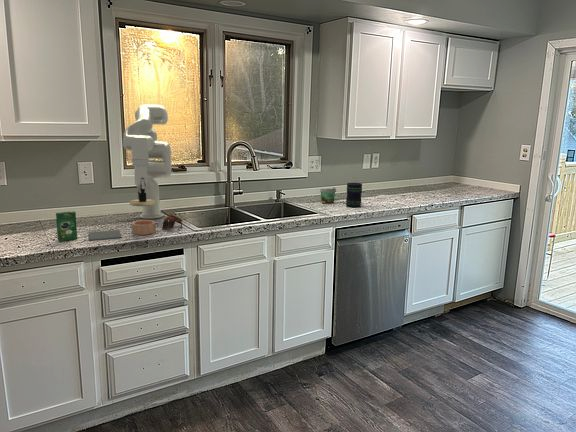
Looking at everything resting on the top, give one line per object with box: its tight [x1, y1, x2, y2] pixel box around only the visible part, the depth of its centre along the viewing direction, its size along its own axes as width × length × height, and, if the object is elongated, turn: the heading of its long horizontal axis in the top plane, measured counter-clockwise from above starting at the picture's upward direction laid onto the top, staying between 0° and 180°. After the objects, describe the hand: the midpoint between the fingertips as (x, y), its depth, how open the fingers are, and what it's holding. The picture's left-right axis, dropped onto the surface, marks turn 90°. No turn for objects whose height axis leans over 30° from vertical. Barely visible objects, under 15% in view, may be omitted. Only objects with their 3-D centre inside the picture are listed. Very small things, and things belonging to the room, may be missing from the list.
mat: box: [88, 229, 123, 242], centre depth 219 cm, size 14×14×1 cm
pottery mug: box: [161, 214, 183, 231], centre depth 234 cm, size 12×10×8 cm
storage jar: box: [345, 182, 363, 209], centre depth 297 cm, size 10×10×15 cm
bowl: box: [131, 219, 157, 236], centre depth 225 cm, size 11×11×5 cm
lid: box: [129, 198, 155, 207], centre depth 222 cm, size 12×12×5 cm
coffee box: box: [55, 210, 78, 243], centre depth 209 cm, size 8×3×13 cm, turn 135°
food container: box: [319, 187, 337, 205], centre depth 306 cm, size 12×6×10 cm, turn 127°
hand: (142, 200), depth 222 cm, fingers closed on lid, 3 cm apart
